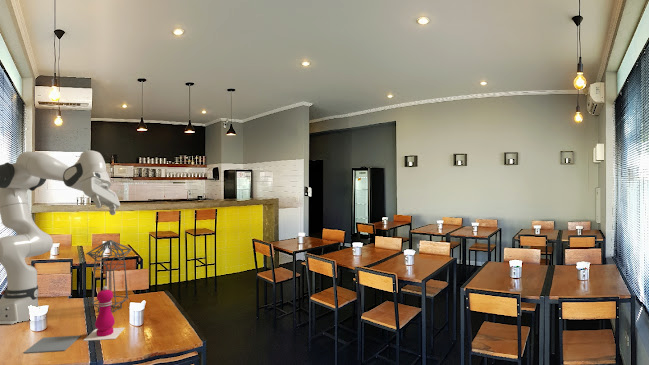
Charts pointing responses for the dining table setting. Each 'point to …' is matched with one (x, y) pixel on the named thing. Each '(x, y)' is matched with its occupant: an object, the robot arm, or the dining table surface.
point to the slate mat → (52, 344)
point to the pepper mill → (104, 313)
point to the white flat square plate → (113, 336)
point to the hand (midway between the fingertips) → (106, 210)
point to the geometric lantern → (104, 245)
